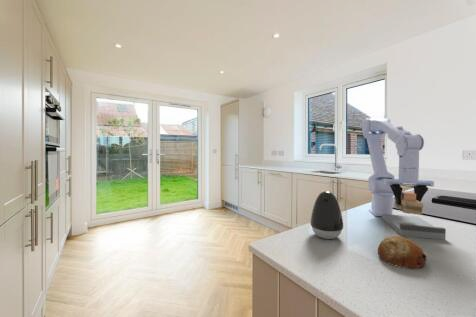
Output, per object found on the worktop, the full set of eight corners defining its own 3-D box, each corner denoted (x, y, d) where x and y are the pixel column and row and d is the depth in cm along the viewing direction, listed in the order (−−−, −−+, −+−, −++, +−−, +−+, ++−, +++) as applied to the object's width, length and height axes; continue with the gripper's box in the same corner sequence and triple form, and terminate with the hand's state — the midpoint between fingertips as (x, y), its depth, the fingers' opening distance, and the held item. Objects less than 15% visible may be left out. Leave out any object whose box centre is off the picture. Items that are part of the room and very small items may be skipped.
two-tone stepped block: (394, 205, 85) (394, 195, 85) (409, 207, 84) (409, 196, 84) (405, 213, 76) (405, 202, 76) (422, 214, 74) (423, 203, 74)
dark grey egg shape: (307, 239, 71) (308, 193, 70) (313, 228, 80) (313, 187, 80) (342, 245, 66) (343, 195, 66) (343, 233, 76) (344, 189, 75)
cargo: (399, 197, 82) (399, 191, 82) (410, 198, 81) (410, 191, 81) (403, 200, 78) (404, 193, 78) (415, 200, 77) (416, 193, 77)
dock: (382, 218, 90) (382, 210, 90) (417, 221, 87) (417, 212, 87) (401, 235, 73) (401, 225, 73) (445, 239, 70) (445, 228, 69)
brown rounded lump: (387, 261, 64) (374, 234, 66) (430, 256, 58) (414, 226, 60) (383, 277, 56) (368, 246, 58) (432, 273, 50) (413, 238, 52)
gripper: (389, 168, 77) (388, 206, 78) (439, 169, 73) (438, 209, 74) (382, 167, 84) (382, 201, 85) (428, 167, 80) (427, 204, 81)
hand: (407, 205), depth 80 cm, fingers closed on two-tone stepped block, 5 cm apart
